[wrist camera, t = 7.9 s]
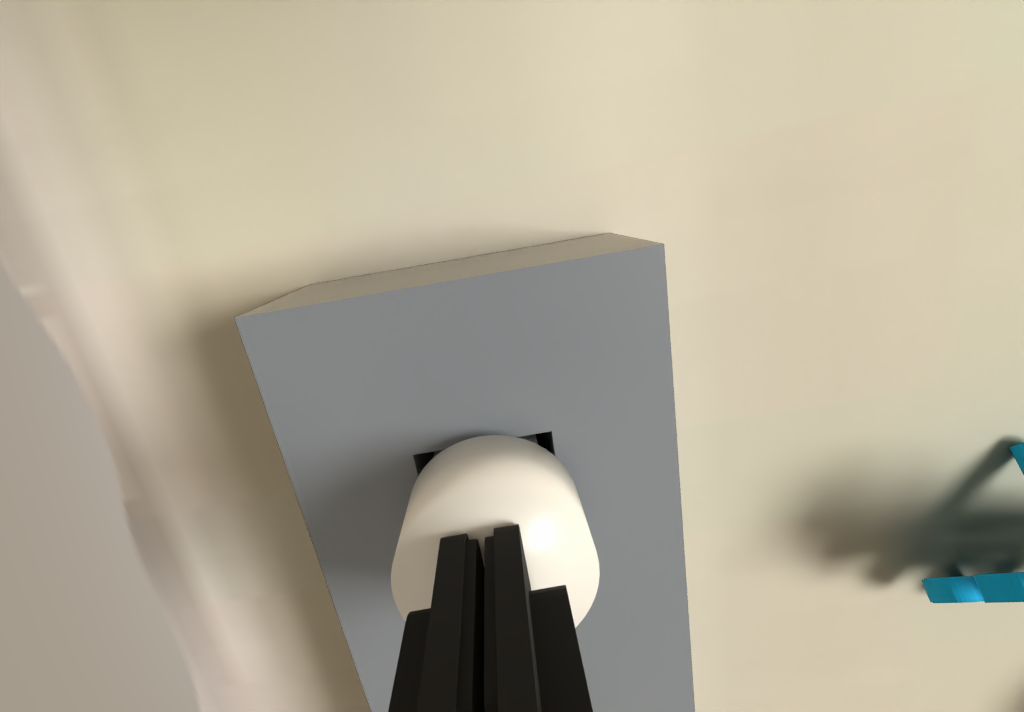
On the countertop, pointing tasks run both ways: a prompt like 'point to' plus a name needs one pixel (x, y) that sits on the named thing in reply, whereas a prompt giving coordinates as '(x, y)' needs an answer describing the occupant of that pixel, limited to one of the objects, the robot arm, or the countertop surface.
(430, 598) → the knob
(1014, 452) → the blue lobed piece
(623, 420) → the mount
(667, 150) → the countertop surface
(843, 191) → the countertop surface
